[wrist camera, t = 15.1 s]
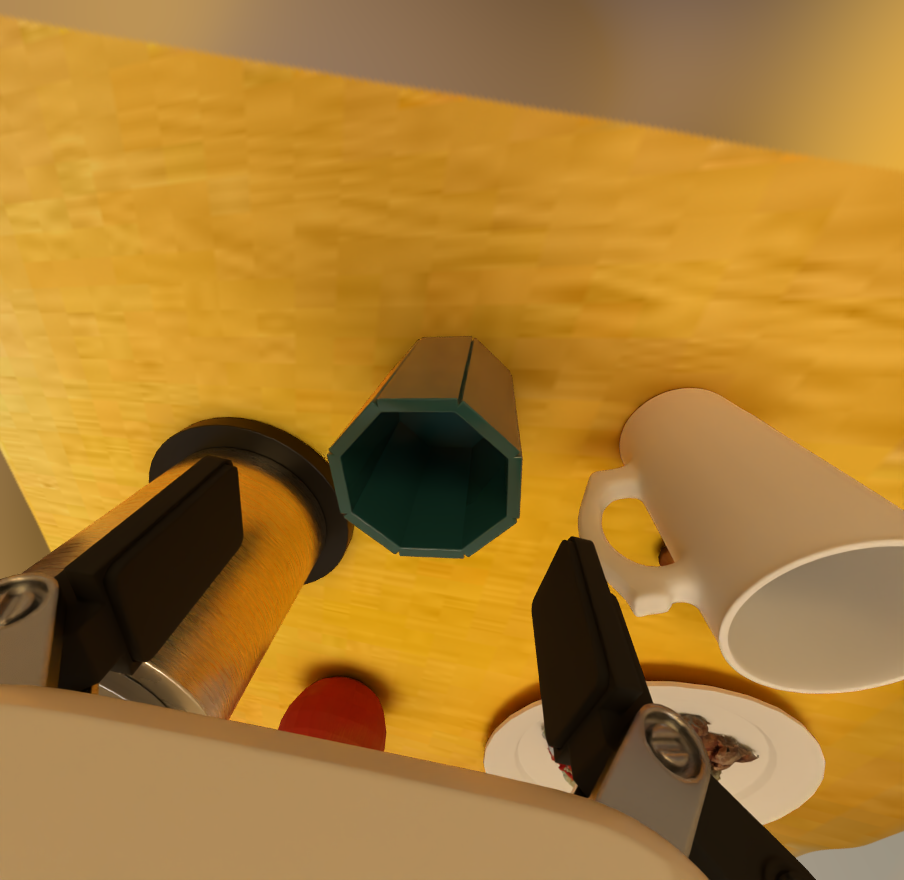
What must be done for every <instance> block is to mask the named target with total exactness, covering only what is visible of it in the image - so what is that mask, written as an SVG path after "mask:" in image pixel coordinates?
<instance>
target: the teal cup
mask: <svg viewBox="0 0 904 880" xmlns="http://www.w3.org/2000/svg"><path fill="white" fill-rule="evenodd" d="M327 457H328V461H329V466H330V470H331V475H332V479H333V483H334V488H335V492H336V496H337V501H338V505H339V509H340V513H341V514H345V515H344V518H345V519H346V520H348V521H349V522H351V523H352V524H353V525H355V526H356V527H357V528H359V529H360V530H362V531H363V532H364V533H366V534H367V535H369V536H370V537H371V538H373V539H374V540H376V541H377V542H378V543H380V544H381V545H383V546H384V547H385V548H387V549H388V550H390V551H391V552H392V553H394V554H396V553H397V552H399V555H400V556H411V557H436V558H460V559H463V558H464V555H466V556H467V557H470V556H471V555H472V554H474V553H475V552H477V551H478V550H479V549H481V548H482V547H484V546H485V545H486V544H488V543H489V542H490V541H492V540H493V539H495V538H496V537H497V536H499V535H500V534H502V533H503V532H504V531H506V530H507V529H509V528H510V527H511V526H513V525H514V524H516V523H517V519H518V518H519V517H520V501H521V480H522V460H523V457H522V449H521V442H520V434H519V426H518V419H517V411H516V403H515V396H514V388H513V380H512V375H511V373H510V371H509V370H508V369H507V368H506V367H505V366H504V365H503V364H502V363H501V362H500V361H499V360H498V359H497V358H496V357H495V356H494V355H493V354H492V353H491V352H490V351H489V350H488V349H487V348H486V347H485V346H484V345H483V344H482V343H481V342H480V341H479V340H477V339H476V338H474V339H473V340H472V336H458V337H423V338H422V339H421V340H420V339H418V340H417V341H416V343H415V344H414V345H413V346H412V347H411V348H410V349H409V351H408V352H407V353H406V354H405V355H404V356H403V358H402V359H401V360H400V361H399V362H398V363H397V364H396V366H395V367H394V368H393V369H392V370H391V371H390V372H389V374H388V375H387V376H386V377H385V379H384V380H383V381H382V382H381V384H380V385H379V386H378V388H377V389H376V390H375V391H374V393H373V394H372V395H371V396H370V398H369V399H368V400H367V401H366V403H365V404H364V405H363V406H362V408H361V409H360V410H359V412H358V413H357V414H356V415H355V417H354V418H353V419H352V420H351V422H350V423H349V424H348V425H347V427H346V428H345V429H344V430H343V432H342V433H341V434H340V436H339V437H338V438H337V439H336V441H335V442H334V443H333V444H332V446H331V447H330V448H329V453H328V454H327Z"/></svg>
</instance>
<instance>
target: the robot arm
mask: <svg viewBox="0 0 904 880" xmlns="http://www.w3.org/2000/svg"><path fill="white" fill-rule="evenodd" d="M243 538H244V533H243V522H242V511H241V499H240V488H239V477H238V469H237V467H235V466H233V463H232V461H231V460H229V459H224V458H220V457H215V456H211V455H207V456H205V457H203V458H202V459H201V460H199V461H198V462H197V463H196V464H194V465H193V466H192V467H191V468H189V469H188V470H187V471H186V472H184V473H183V474H182V475H181V476H179V477H178V478H177V479H175V480H174V481H173V482H172V483H170V484H169V485H168V486H167V487H165V488H164V489H163V490H162V491H160V492H159V493H158V494H157V495H155V496H154V497H153V498H152V499H150V500H149V501H148V502H147V503H145V504H144V505H143V506H141V507H140V508H139V509H138V510H136V511H135V512H134V513H133V514H131V515H130V516H129V517H128V518H126V519H125V520H124V521H123V522H121V523H120V524H119V525H118V526H116V527H115V528H114V529H113V530H111V531H110V532H109V533H108V534H106V535H105V536H104V537H102V538H101V539H100V540H99V541H97V542H96V543H95V544H94V545H92V546H91V547H90V548H89V549H87V550H86V551H85V552H84V553H82V554H81V555H80V556H79V557H77V558H76V559H75V560H74V561H72V562H71V563H70V564H68V565H67V566H66V567H65V568H63V569H64V570H63V571H61V572H60V573H59V574H58V575H56V576H55V577H52V576H50V575H47V574H44V573H23V574H17V575H12V576H9V577H6V578H2V579H0V880H816V879H815V878H814V877H813V876H812V875H811V874H810V873H809V871H808V870H807V869H806V868H805V867H804V866H803V865H802V864H801V863H800V862H799V861H798V860H797V859H796V858H795V857H794V856H793V855H792V854H791V853H790V852H789V851H788V850H787V849H786V848H785V847H784V846H783V845H782V844H781V843H780V842H779V841H778V840H777V839H776V838H775V837H774V836H773V835H772V834H771V833H770V832H769V831H768V830H767V829H766V828H765V827H764V826H763V825H762V824H761V823H760V822H759V821H758V820H757V819H756V818H755V817H754V816H753V815H752V814H751V813H750V812H749V811H748V810H747V809H746V808H744V807H743V806H742V805H741V804H740V803H739V802H738V801H737V800H736V799H735V798H734V797H733V796H732V795H731V794H730V793H729V792H728V791H727V790H726V789H725V788H724V787H723V786H722V785H721V784H720V783H719V782H718V781H717V780H716V779H715V778H714V777H713V776H712V775H711V764H710V760H709V756H708V752H707V750H706V748H705V746H704V744H703V742H702V740H701V738H700V737H699V736H698V734H697V733H696V731H695V730H694V728H693V727H692V726H691V725H690V724H689V723H688V722H687V721H686V720H685V719H684V718H683V717H682V716H681V715H679V714H678V713H677V712H675V711H674V710H672V709H671V708H668V707H666V706H664V705H662V704H655V703H653V701H652V698H651V695H650V692H649V689H648V686H647V683H646V680H645V678H644V675H643V672H642V669H641V666H640V663H639V660H638V657H637V655H636V652H635V649H634V646H633V643H632V640H631V637H630V634H629V631H628V629H627V626H626V623H625V620H624V617H623V614H622V611H621V608H620V606H619V603H618V601H617V599H616V597H615V596H614V595H613V594H611V593H610V590H609V587H608V584H607V581H606V578H605V575H604V572H603V569H602V566H601V563H600V560H599V557H598V554H597V551H596V548H595V545H594V543H593V542H592V541H591V540H587V539H582V538H578V537H573V536H571V537H570V538H569V539H568V540H563V541H562V542H561V544H560V546H559V548H558V550H557V552H556V554H555V556H554V558H553V560H552V562H551V564H550V566H549V568H548V571H547V573H546V575H545V577H544V579H543V581H542V583H541V585H540V587H539V589H538V591H537V593H536V595H535V597H534V599H533V603H532V619H533V628H534V637H535V646H536V655H537V664H538V673H539V682H540V691H541V700H542V709H543V718H544V727H545V736H546V741H547V744H548V746H550V747H553V751H554V760H555V763H559V764H564V765H569V766H571V770H572V776H573V780H574V782H575V783H576V784H575V785H574V787H573V789H572V791H571V793H568V792H564V791H561V790H557V789H553V788H549V787H545V786H540V785H536V784H532V783H527V782H523V781H519V780H514V779H510V778H506V777H501V776H497V775H493V774H488V773H483V772H479V771H474V770H469V769H464V768H460V767H455V766H450V765H445V764H440V763H436V762H431V761H426V760H421V759H417V758H412V757H407V756H402V755H398V754H393V753H388V752H383V751H378V750H373V749H369V748H364V747H359V746H354V745H349V744H344V743H339V742H334V741H330V740H325V739H320V738H315V737H310V736H305V735H300V734H295V733H290V732H285V731H280V730H276V729H271V728H266V727H261V726H256V725H251V724H246V723H241V722H236V721H231V720H226V719H221V718H216V717H211V716H206V715H201V714H196V713H191V712H185V711H180V710H175V709H170V708H165V707H160V706H155V705H150V704H145V703H140V702H134V701H129V700H123V699H117V698H112V697H106V696H101V695H98V693H99V683H100V681H101V680H102V679H103V678H104V677H105V676H106V674H107V673H108V672H109V671H112V672H117V673H122V674H127V675H133V674H134V673H135V671H136V670H137V669H138V668H139V666H140V665H141V664H142V663H143V662H148V661H150V660H151V659H152V658H153V657H154V656H155V655H156V654H157V653H158V651H159V650H160V649H161V647H162V646H163V645H164V644H165V642H166V641H167V640H168V639H169V637H170V636H171V635H172V633H173V632H174V631H175V630H176V628H177V627H178V626H179V625H180V623H181V622H182V621H183V619H184V618H185V617H186V616H187V614H188V613H189V612H190V611H191V609H192V608H193V607H194V605H195V604H196V603H197V602H198V600H199V599H200V598H201V597H202V595H203V594H204V593H205V591H206V590H207V589H208V588H209V586H210V585H211V584H212V583H213V581H214V580H215V579H216V577H217V576H218V575H219V574H220V572H221V571H222V570H223V569H224V567H225V566H226V565H227V563H228V562H229V561H230V560H231V558H232V557H233V556H234V555H235V553H236V552H237V551H238V549H239V548H240V546H241V544H242V542H243Z"/></svg>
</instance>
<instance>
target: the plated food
mask: <svg viewBox="0 0 904 880" xmlns="http://www.w3.org/2000/svg"><path fill="white" fill-rule="evenodd" d="M646 683H647V686H648V689H649V692H650V695H651V698H652V701H653V703H655V704H662V705H664V706H666V707H668V708H671V709H672V710H674V711H675V712H677V713H678V714H679V715H681V716H682V717H683V718H684V719H685V720H686V721H687V722H688V723H689V724H690V725H691V726H692V727H693V728H694V730H695V731H696V733H697V734H698V736H699V737H700V738H701V740H702V742H703V744H704V746H705V748H706V750H707V752H708V756H709V760H710V764H711V775H712V776H713V777H714V778H715V779H716V780H717V781H718V782H719V783H720V784H721V785H722V786H723V787H724V788H725V789H726V790H727V791H728V792H729V793H730V794H731V795H732V796H733V797H734V798H735V799H736V800H737V801H738V802H739V803H740V804H741V805H742V806H743V807H744V808H746V809H747V810H748V811H749V812H750V813H751V814H752V815H753V816H754V817H755V818H756V819H757V820H758V821H759V822H760V823H761V824H762V825H764V824H767V823H769V822H772V821H775V820H777V819H779V818H781V817H783V816H785V815H786V814H788V813H790V812H792V811H793V810H795V809H797V808H799V807H800V806H801V805H802V804H803V803H804V802H805V801H806V800H808V799H809V798H810V797H811V796H812V795H813V794H814V793H815V791H816V790H817V788H818V786H819V785H820V783H821V781H822V780H823V776H824V769H825V759H824V757H823V754H822V751H821V748H820V745H819V743H818V742H817V740H816V739H815V738H814V737H813V736H812V734H811V733H810V732H809V731H808V730H807V729H806V728H805V726H804V725H803V724H802V723H801V722H799V721H798V720H796V719H795V718H793V717H792V716H790V715H789V714H787V713H786V712H784V711H783V710H781V709H780V708H778V707H776V706H773V705H771V704H768V703H766V702H764V701H761V700H759V699H756V698H754V697H751V696H749V695H745V694H741V693H737V692H733V691H729V690H725V689H721V688H717V687H713V686H707V685H698V684H690V683H682V682H674V681H646ZM484 767H485V771H486V773H488V774H493V775H497V776H501V777H506V778H510V779H514V780H519V781H523V782H527V783H532V784H536V785H540V786H545V787H549V788H553V789H557V790H561V791H564V792H568V793H571V791H572V789H573V787H574V785H575V784H576V783H575V782H574V780H573V776H572V770H571V766H569V765H564V764H559V763H555V760H554V751H553V747H550V746H548V744H547V741H546V736H545V727H544V718H543V709H542V700H538V701H536V702H533V703H531V704H529V705H527V706H526V707H524V708H522V709H520V710H519V711H517V712H515V713H513V714H512V715H510V716H509V717H508V718H507V719H506V720H505V721H503V722H502V723H501V724H500V725H499V726H498V727H497V728H496V729H495V730H494V732H493V733H492V735H491V737H490V738H489V740H488V742H487V743H486V748H485V754H484Z"/></svg>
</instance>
